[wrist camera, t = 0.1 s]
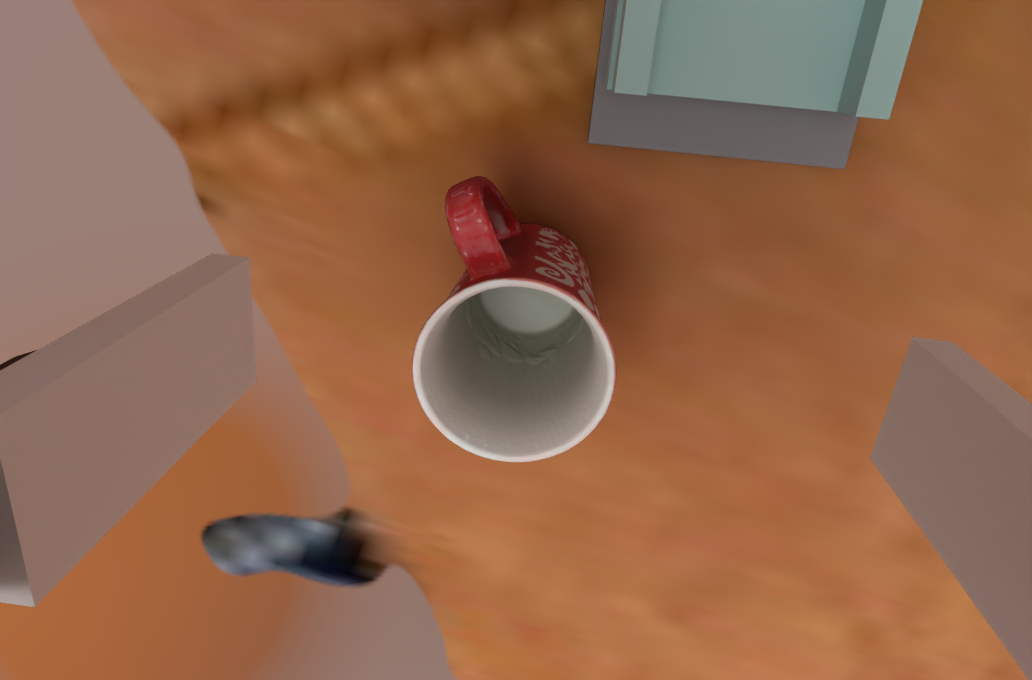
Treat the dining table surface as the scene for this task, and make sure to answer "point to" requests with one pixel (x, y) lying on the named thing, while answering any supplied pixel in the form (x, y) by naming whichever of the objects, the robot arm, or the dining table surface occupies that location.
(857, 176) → the dining table surface
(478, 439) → the mug
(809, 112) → the display stand
